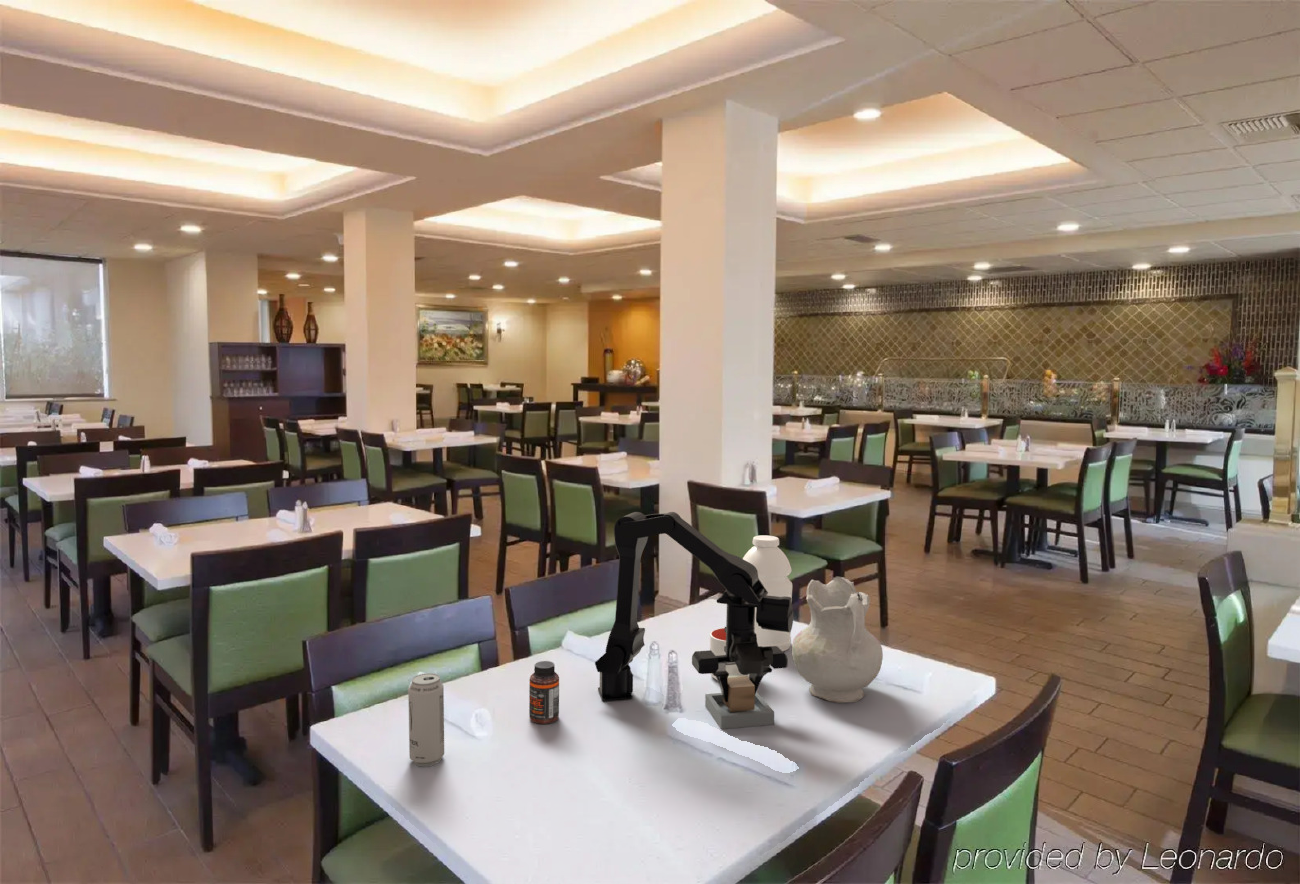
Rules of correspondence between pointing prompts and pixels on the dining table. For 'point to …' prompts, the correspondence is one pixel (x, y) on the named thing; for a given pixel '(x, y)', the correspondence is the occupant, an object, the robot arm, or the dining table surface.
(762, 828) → the dining table surface
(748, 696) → the walnut cube
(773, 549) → the bottle
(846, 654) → the ceramic pitcher
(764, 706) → the tray
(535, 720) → the supplement bottle
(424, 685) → the energy drink can
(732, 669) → the cup
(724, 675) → the robot arm
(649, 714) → the dining table surface
